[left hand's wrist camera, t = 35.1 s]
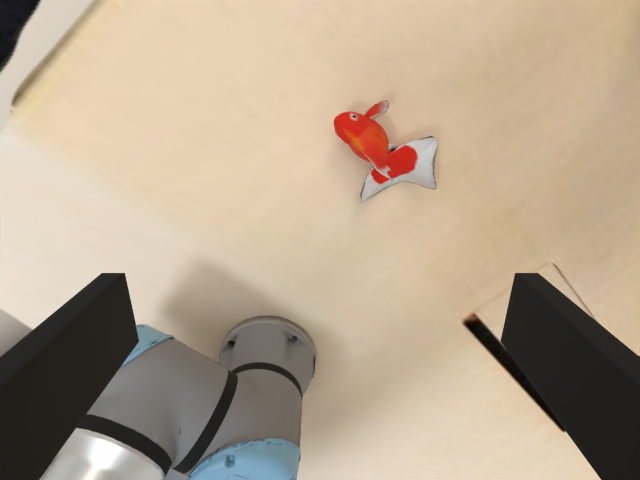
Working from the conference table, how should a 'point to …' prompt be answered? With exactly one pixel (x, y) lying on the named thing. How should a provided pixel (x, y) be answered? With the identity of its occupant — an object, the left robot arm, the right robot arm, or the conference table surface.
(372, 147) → the fish
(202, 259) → the conference table surface
